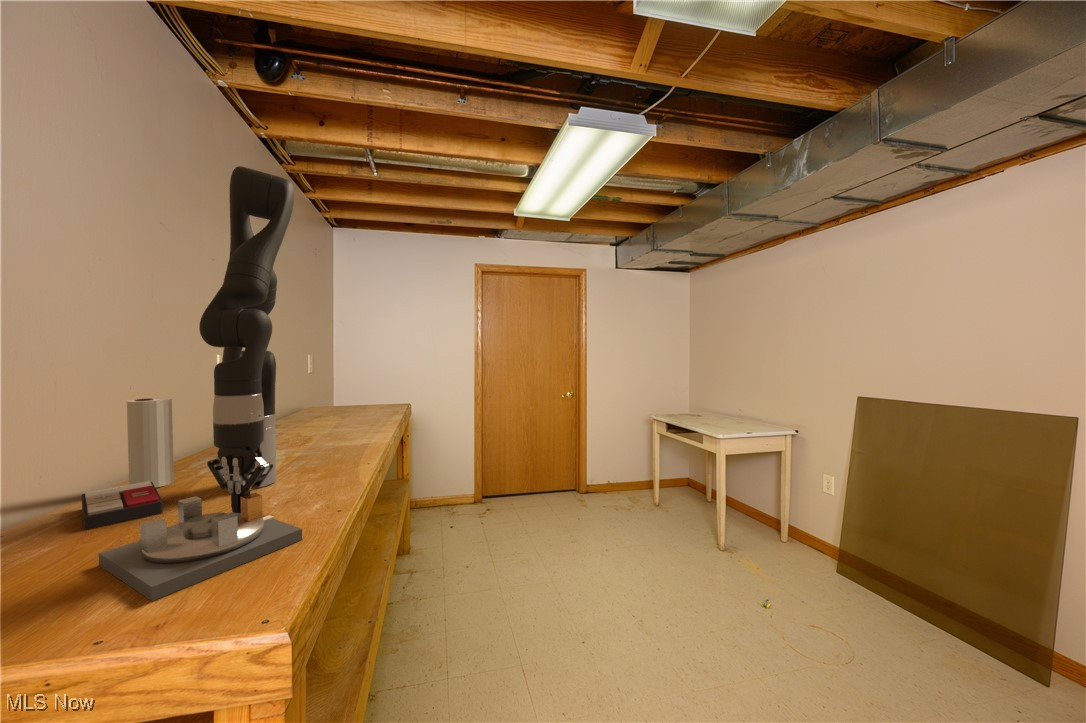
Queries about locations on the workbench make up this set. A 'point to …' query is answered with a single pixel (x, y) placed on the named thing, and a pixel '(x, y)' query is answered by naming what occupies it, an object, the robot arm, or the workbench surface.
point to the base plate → (175, 576)
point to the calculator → (120, 504)
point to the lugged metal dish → (201, 531)
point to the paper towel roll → (150, 441)
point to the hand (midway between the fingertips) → (240, 511)
